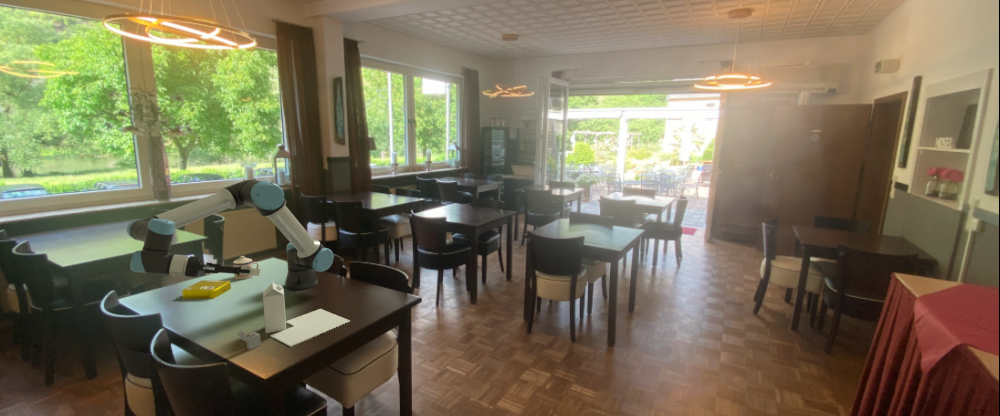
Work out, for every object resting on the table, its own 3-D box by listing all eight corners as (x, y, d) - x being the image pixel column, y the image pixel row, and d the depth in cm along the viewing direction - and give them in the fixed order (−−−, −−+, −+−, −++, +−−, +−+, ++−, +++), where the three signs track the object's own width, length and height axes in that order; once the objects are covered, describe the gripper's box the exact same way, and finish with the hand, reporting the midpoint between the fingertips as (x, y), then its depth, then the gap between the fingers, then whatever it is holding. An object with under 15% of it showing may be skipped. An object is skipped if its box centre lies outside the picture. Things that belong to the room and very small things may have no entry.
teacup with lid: (236, 281, 218) (234, 259, 216) (232, 276, 225) (230, 256, 223) (261, 276, 226) (260, 255, 224) (257, 272, 233) (255, 252, 231)
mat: (320, 309, 185) (320, 308, 185) (350, 321, 173) (350, 320, 173) (260, 331, 163) (260, 330, 163) (290, 347, 152) (290, 345, 152)
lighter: (258, 343, 154) (256, 323, 153) (260, 345, 153) (259, 324, 152) (238, 351, 148) (236, 330, 147) (240, 353, 147) (238, 332, 146)
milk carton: (265, 333, 162) (262, 287, 158) (266, 326, 168) (262, 281, 165) (286, 330, 165) (282, 284, 162) (285, 323, 171) (282, 279, 168)
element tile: (232, 288, 209) (231, 279, 208) (213, 300, 194) (212, 290, 193) (202, 288, 208) (201, 279, 207) (180, 299, 194) (179, 290, 193)
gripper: (186, 275, 157) (257, 281, 169) (181, 276, 146) (258, 282, 158) (190, 256, 158) (260, 263, 170) (187, 255, 147) (262, 263, 159)
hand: (259, 272), depth 164 cm, fingers closed
